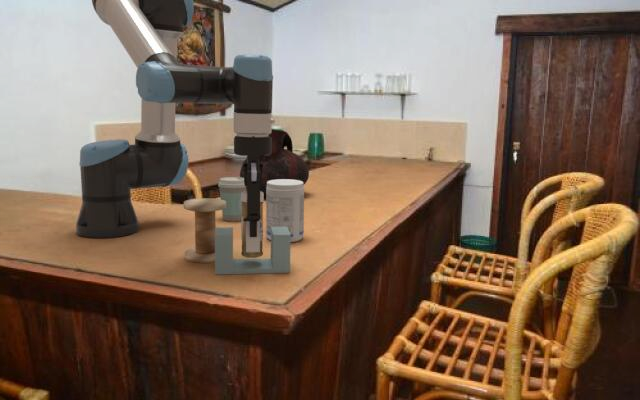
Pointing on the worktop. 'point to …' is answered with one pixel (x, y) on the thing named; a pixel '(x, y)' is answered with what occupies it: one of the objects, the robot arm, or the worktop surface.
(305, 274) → the worktop surface
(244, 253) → the sprinkles bottle
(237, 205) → the coffee cup
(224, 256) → the blue-grey u-shaped block
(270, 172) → the jug
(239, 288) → the worktop surface
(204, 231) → the bobbin
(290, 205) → the supplement tub
